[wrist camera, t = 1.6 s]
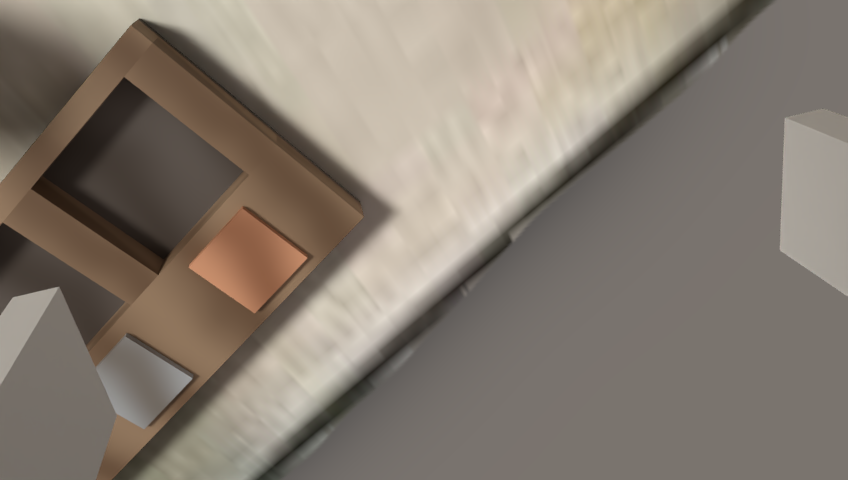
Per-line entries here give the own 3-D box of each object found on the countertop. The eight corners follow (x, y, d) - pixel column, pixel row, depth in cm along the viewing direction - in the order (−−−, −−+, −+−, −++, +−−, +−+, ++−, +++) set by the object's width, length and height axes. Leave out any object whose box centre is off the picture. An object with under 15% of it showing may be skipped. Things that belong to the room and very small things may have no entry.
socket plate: (32, 545, 49) (18, 579, 46) (-205, 434, 43) (-235, 467, 40) (359, 201, 43) (364, 219, 40) (139, 18, 37) (129, 26, 34)
